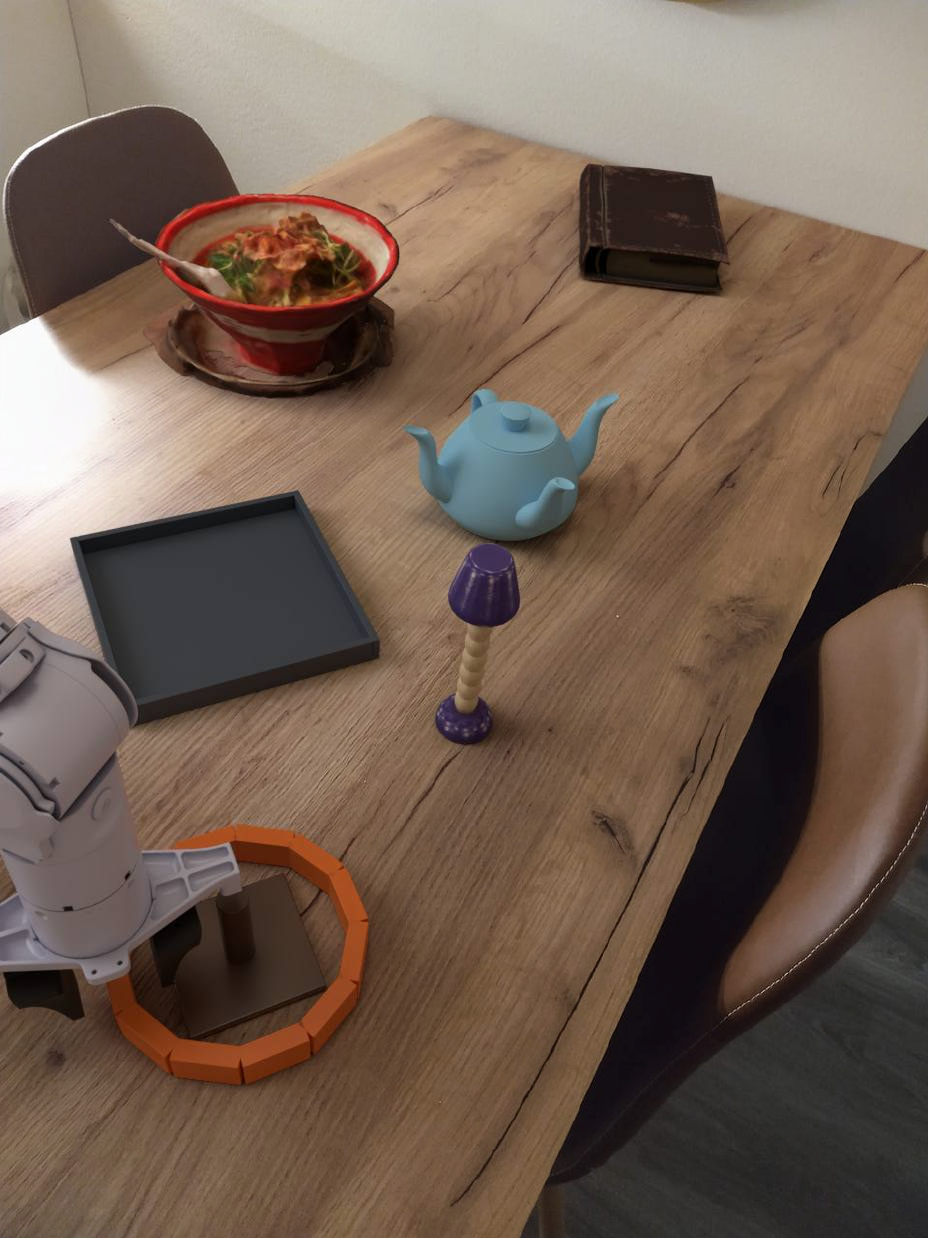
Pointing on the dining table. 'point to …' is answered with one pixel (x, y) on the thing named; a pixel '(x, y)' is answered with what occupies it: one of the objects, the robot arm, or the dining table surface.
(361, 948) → the ring
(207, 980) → the stand
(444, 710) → the toy lamp
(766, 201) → the dining table surface
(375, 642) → the tray
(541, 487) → the teapot
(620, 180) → the diary
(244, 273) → the stew
